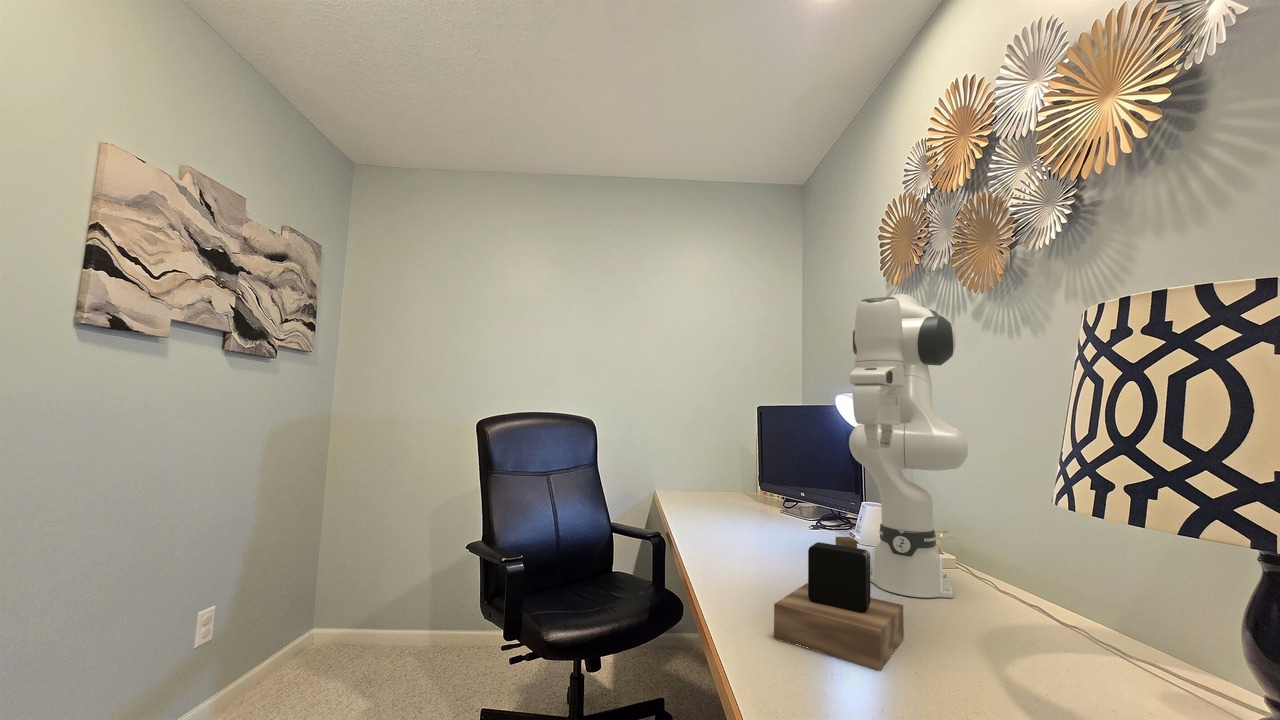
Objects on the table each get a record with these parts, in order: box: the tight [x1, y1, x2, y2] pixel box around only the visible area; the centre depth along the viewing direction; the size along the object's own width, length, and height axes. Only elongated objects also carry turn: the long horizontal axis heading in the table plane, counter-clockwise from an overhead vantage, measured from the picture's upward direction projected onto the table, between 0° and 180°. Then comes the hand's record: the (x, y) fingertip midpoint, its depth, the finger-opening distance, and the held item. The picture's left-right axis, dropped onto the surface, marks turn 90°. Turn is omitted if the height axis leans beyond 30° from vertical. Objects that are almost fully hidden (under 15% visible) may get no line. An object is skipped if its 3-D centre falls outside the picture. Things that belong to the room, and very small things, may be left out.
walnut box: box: [773, 582, 905, 672], centre depth 97 cm, size 16×18×6 cm
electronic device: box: [807, 541, 871, 613], centre depth 98 cm, size 4×10×10 cm, turn 57°
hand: (879, 448), depth 104 cm, fingers open, 8 cm apart
